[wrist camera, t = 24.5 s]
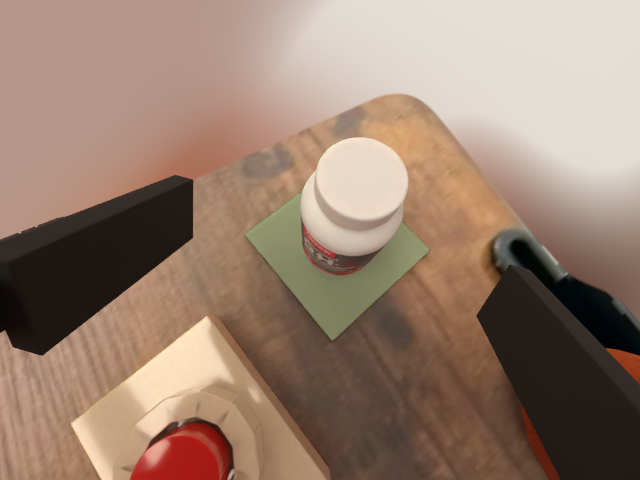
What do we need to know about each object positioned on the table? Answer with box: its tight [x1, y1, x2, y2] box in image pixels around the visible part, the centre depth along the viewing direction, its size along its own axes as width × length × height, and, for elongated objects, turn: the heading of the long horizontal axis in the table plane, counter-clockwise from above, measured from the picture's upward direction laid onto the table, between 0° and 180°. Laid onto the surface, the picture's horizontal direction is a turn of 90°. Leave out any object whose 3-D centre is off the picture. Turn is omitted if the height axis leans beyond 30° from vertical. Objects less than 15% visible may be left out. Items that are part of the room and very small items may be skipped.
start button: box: [130, 423, 230, 480], centre depth 13 cm, size 4×4×2 cm
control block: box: [71, 316, 331, 480], centre depth 15 cm, size 12×9×4 cm
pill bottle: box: [300, 137, 408, 276], centre depth 16 cm, size 5×5×10 cm
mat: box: [245, 191, 430, 341], centre depth 21 cm, size 10×10×1 cm
